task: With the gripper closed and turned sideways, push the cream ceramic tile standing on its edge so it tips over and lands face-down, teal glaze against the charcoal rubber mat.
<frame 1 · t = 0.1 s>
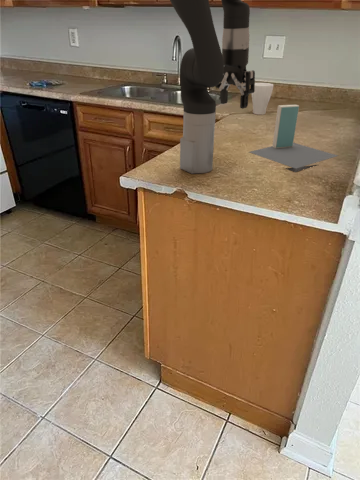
hand: (233, 105, 115), 17 cm above the worktop, tool pointing down, fingers open, 8 cm apart
mat: (292, 157, 128), on the worktop
tile: (282, 146, 134), point 1 cm above the worktop, touching mat
cup: (259, 113, 187), on the worktop
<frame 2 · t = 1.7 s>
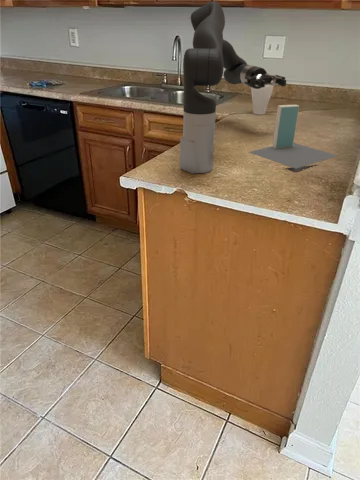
hand: (274, 83, 133), 21 cm above the worktop, tool horizontal, fingers open, 8 cm apart
nothing on the worktop moved.
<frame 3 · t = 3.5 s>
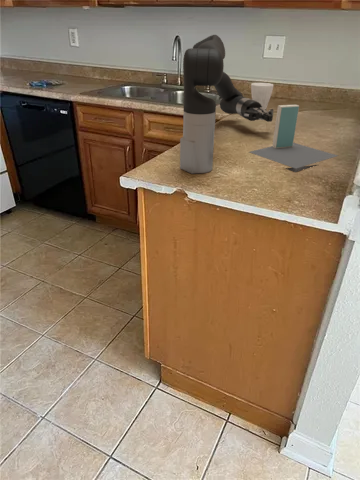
hand: (270, 118, 139), 9 cm above the worktop, tool horizontal, fingers closed
nothing on the worktop moved.
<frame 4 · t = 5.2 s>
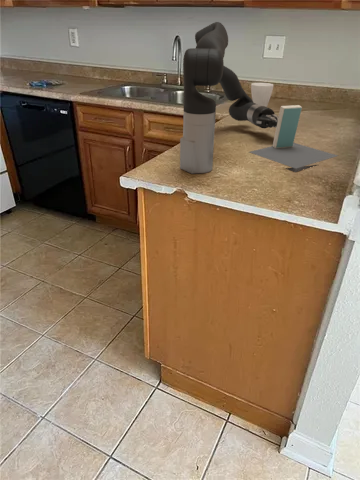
hand: (284, 126, 131), 8 cm above the worktop, tool horizontal, fingers closed
tile: (282, 146, 134), point 1 cm above the worktop, tilted 7°, touching mat
everything else where it was.
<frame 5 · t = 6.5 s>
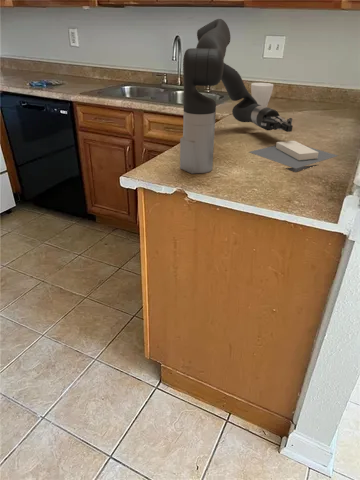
hand: (290, 128, 128), 8 cm above the worktop, tool horizontal, fingers closed
tile: (285, 144, 133), point 2 cm above the worktop, tilted 90°, touching mat
everything else where it was.
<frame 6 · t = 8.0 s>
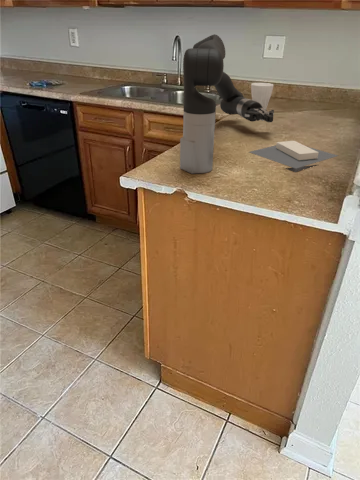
hand: (271, 119, 139), 8 cm above the worktop, tool horizontal, fingers closed
nothing on the worktop moved.
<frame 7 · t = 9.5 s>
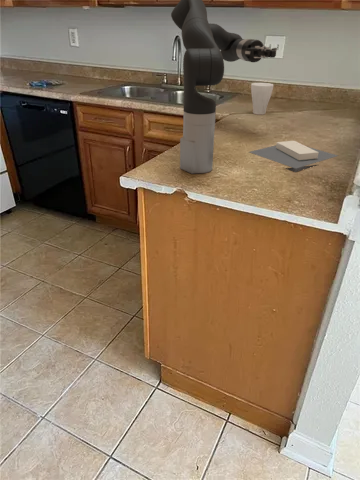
hand: (273, 54, 129), 30 cm above the worktop, tool horizontal, fingers closed
nothing on the worktop moved.
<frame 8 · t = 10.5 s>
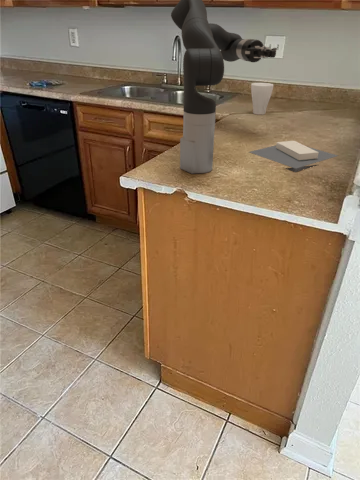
hand: (273, 54, 129), 30 cm above the worktop, tool horizontal, fingers closed
nothing on the worktop moved.
at the end: tile tilted 90°; tile touching mat; tile inside the target area (0.3 cm from its centre), point 2.4 cm above the worktop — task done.
